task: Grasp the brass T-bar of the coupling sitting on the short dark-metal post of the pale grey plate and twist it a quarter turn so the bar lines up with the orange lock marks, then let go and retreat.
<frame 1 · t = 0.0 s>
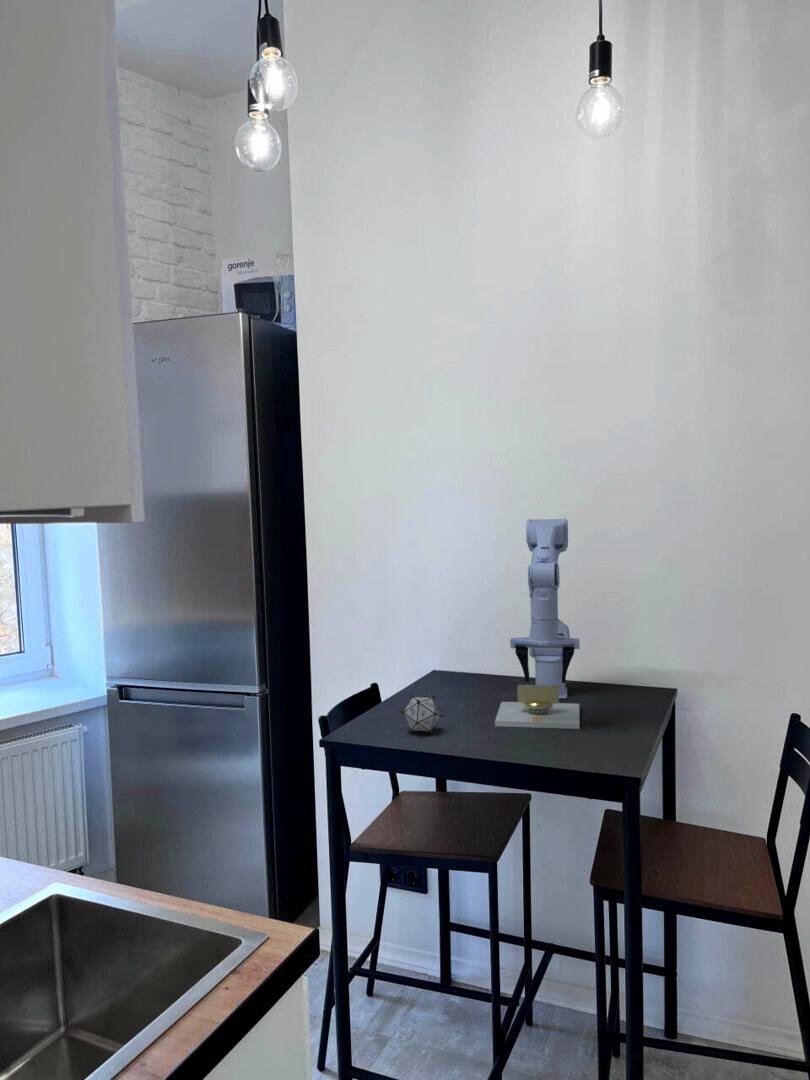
hand: (545, 681, 180), 10 cm above the table, fingers open, 7 cm apart
game die: (422, 733, 180), on the table
coupling: (538, 695, 189), point 5 cm above the table, hinge at 0.0°
lock plate: (538, 717, 189), on the table
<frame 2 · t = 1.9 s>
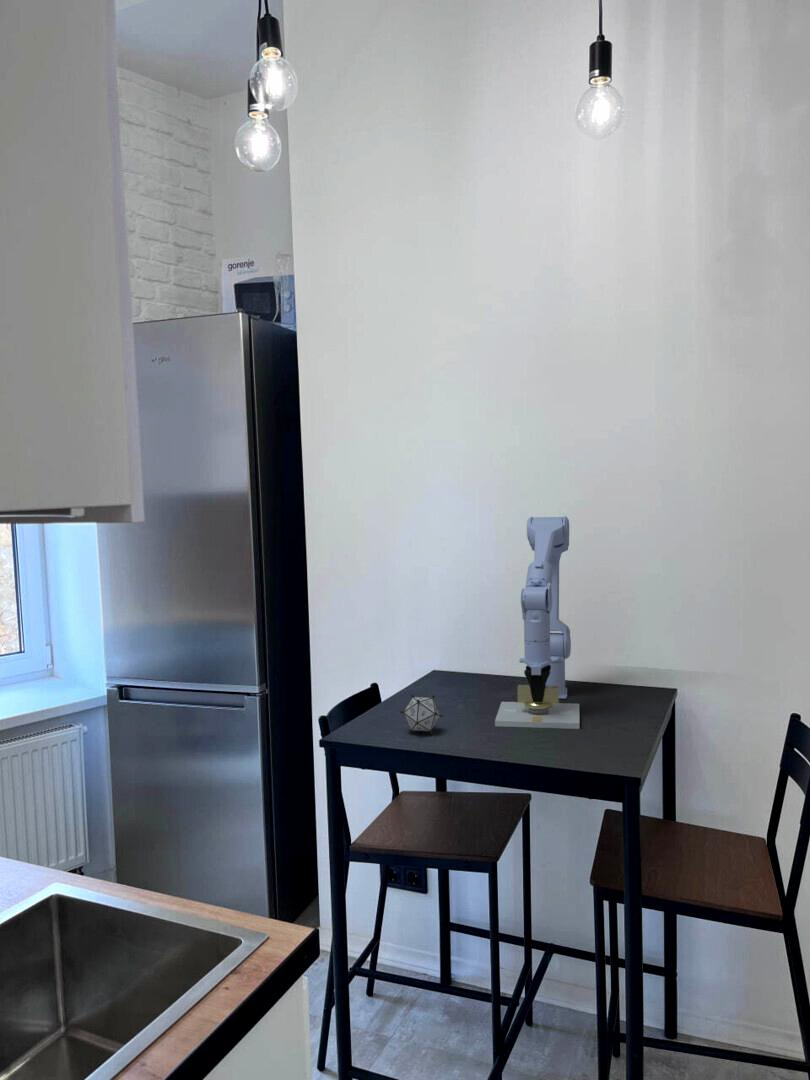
hand: (538, 699, 189), 4 cm above the table, fingers closed on coupling, 3 cm apart
coupling: (538, 695, 189), point 5 cm above the table, hinge at 0.0°, touching gripper
everything else where it was.
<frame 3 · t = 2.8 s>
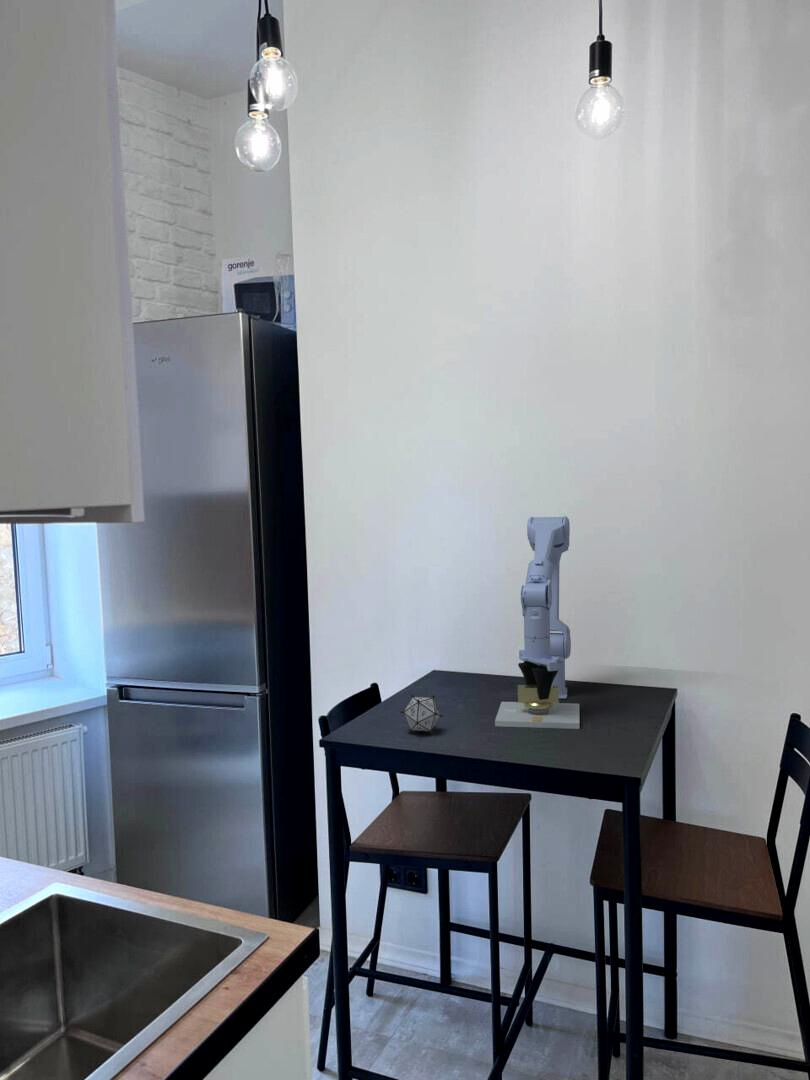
hand: (538, 696, 189), 5 cm above the table, fingers closed on coupling, 4 cm apart
coupling: (538, 695, 189), point 5 cm above the table, hinge at 3.9°, touching gripper
everything else where it was.
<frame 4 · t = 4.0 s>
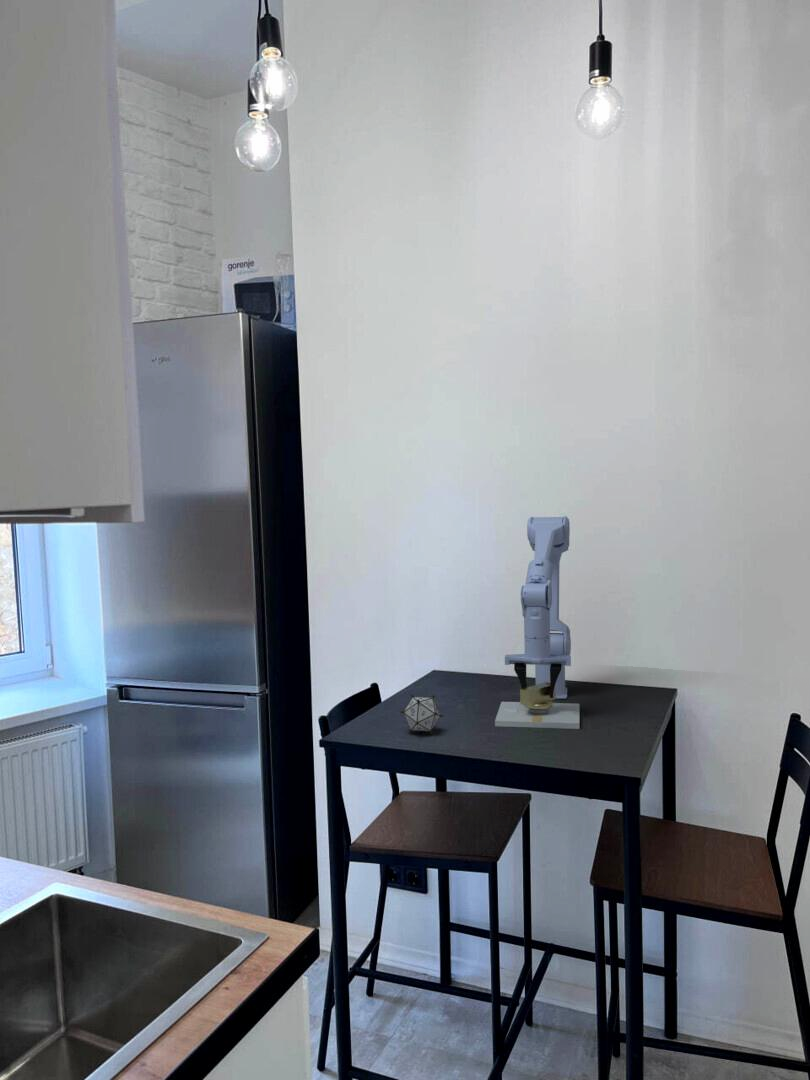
hand: (538, 696, 189), 5 cm above the table, fingers closed on coupling, 5 cm apart
coupling: (538, 695, 189), point 5 cm above the table, hinge at 52.9°, touching gripper
everything else where it was.
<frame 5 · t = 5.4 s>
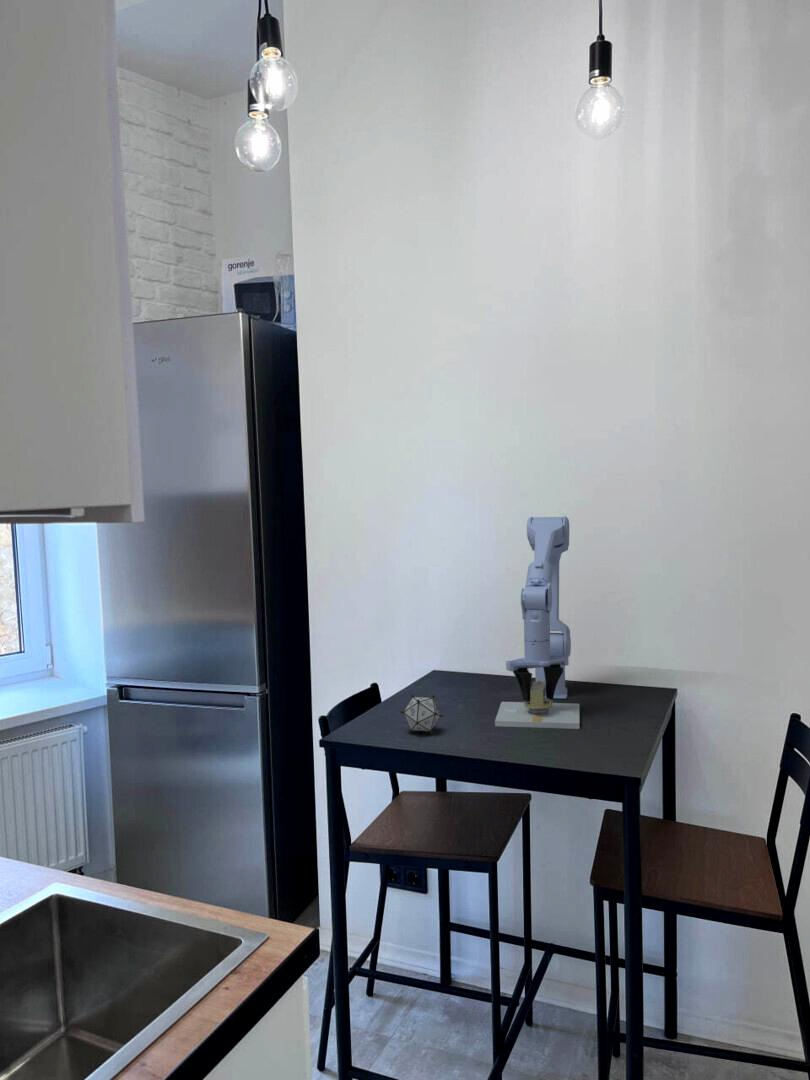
hand: (538, 699, 189), 4 cm above the table, fingers closed on coupling, 5 cm apart
coupling: (538, 695, 189), point 5 cm above the table, hinge at 88.9°, touching gripper
everything else where it was.
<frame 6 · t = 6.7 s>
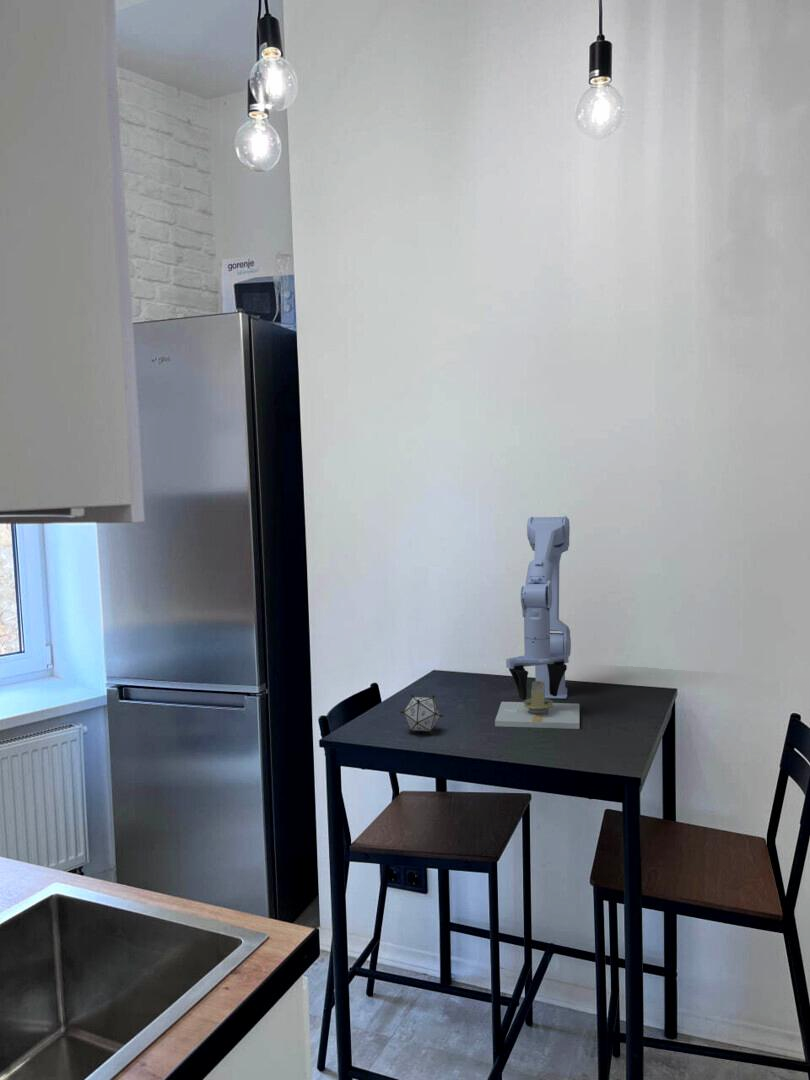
hand: (538, 697, 189), 5 cm above the table, fingers open, 7 cm apart
coupling: (538, 695, 189), point 5 cm above the table, hinge at 91.5°
everything else where it was.
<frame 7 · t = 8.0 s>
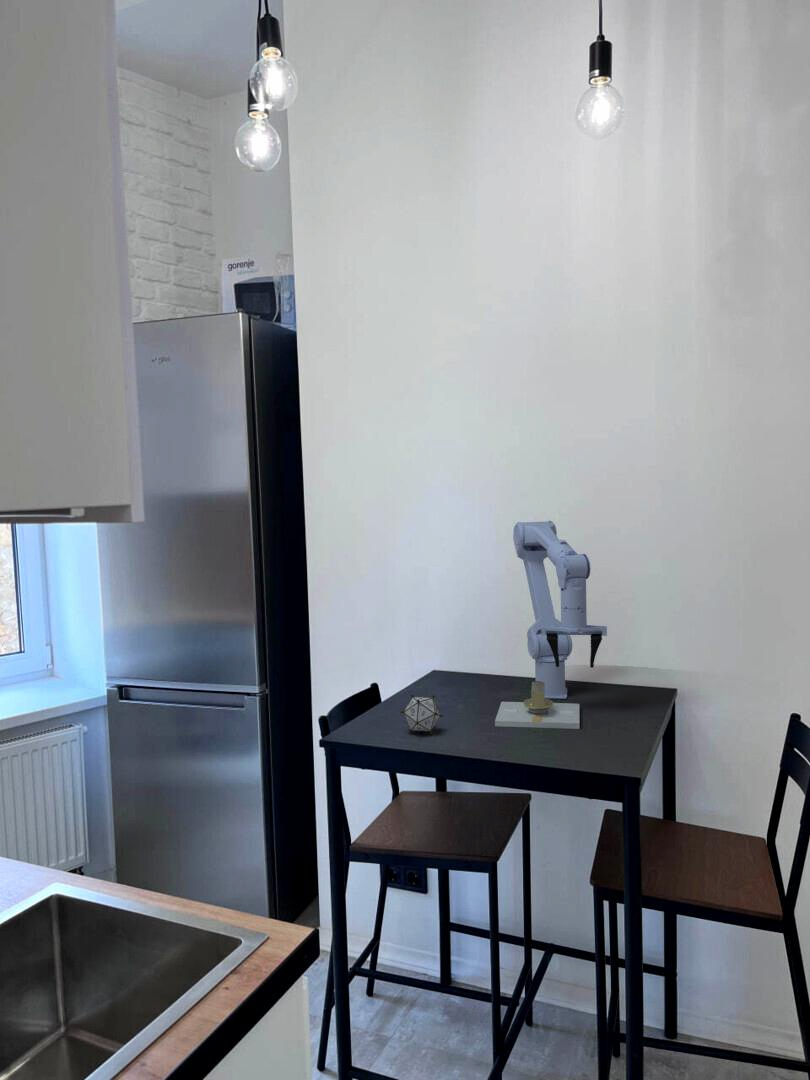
hand: (574, 666, 193), 10 cm above the table, fingers open, 7 cm apart
coupling: (538, 695, 189), point 5 cm above the table, hinge at 91.8°
everything else where it was.
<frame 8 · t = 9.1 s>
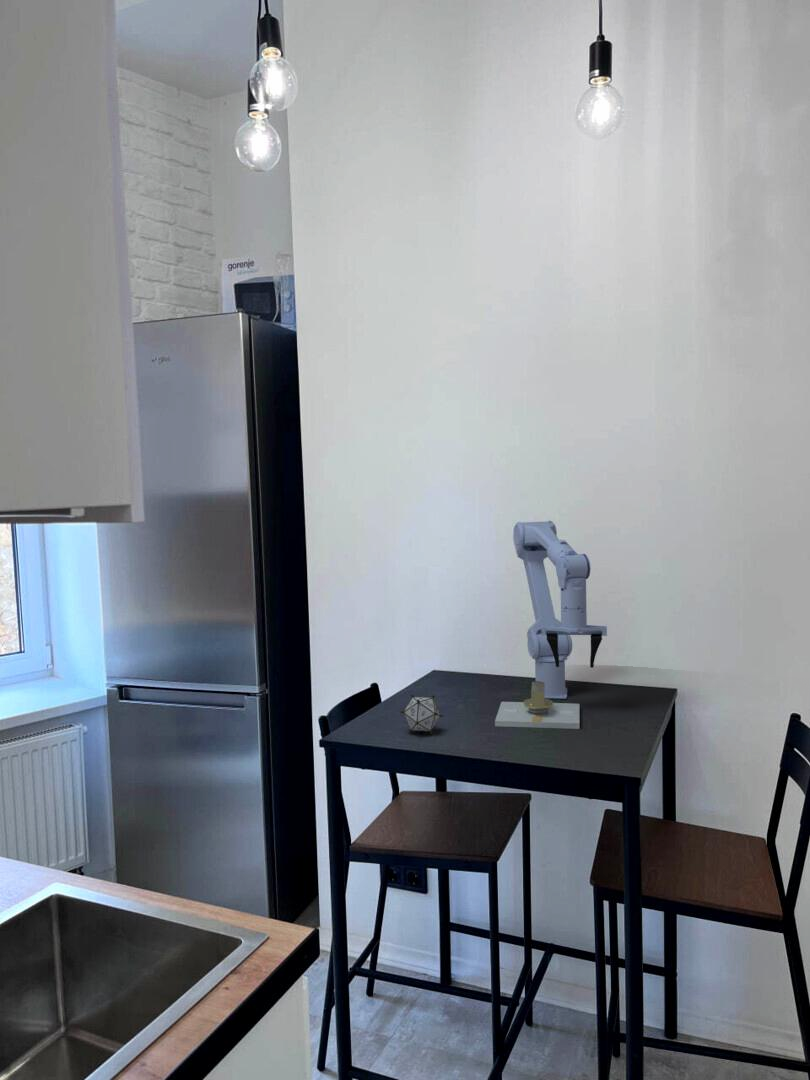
hand: (574, 666, 193), 10 cm above the table, fingers open, 7 cm apart
nothing on the table moved.
at the end: coupling at +92° (first picture: +0°); the gripper is holding nothing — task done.
